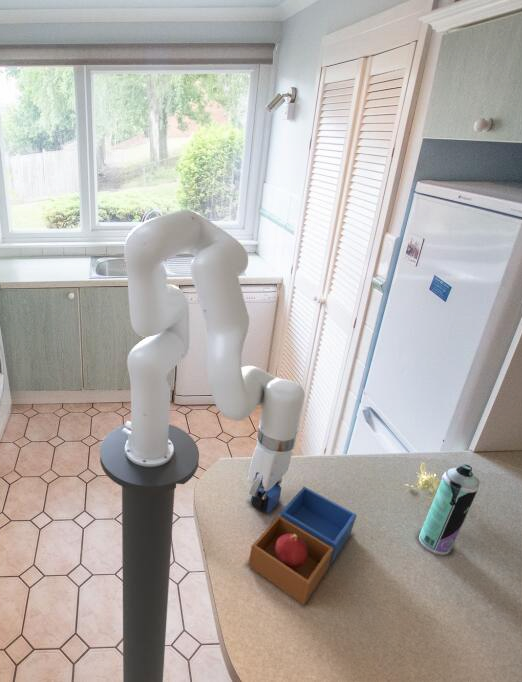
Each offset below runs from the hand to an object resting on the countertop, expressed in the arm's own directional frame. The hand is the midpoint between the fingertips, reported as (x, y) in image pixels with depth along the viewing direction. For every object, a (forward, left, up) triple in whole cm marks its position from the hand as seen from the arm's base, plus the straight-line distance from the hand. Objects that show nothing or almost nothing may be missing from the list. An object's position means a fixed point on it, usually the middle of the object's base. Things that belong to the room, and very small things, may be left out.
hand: (264, 501), depth 101 cm
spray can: (+30, +14, -1) cm, 33 cm away
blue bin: (+11, 0, 0) cm, 12 cm away
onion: (+11, -11, 0) cm, 16 cm away
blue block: (0, 0, 0) cm, 0 cm away
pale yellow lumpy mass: (+26, +27, -1) cm, 38 cm away
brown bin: (+11, -12, 0) cm, 16 cm away
